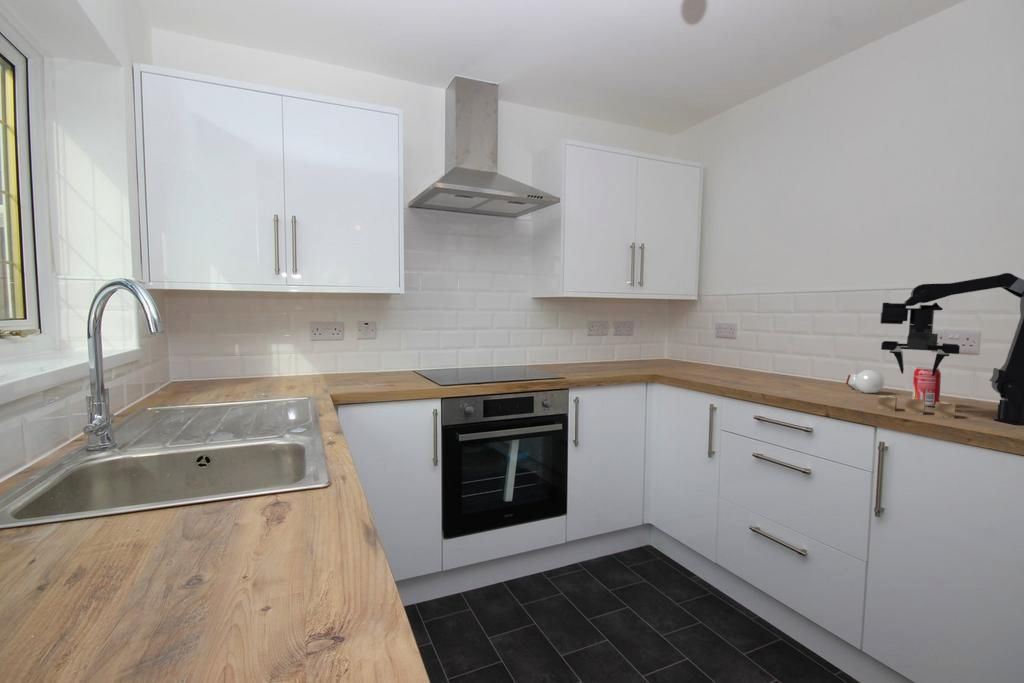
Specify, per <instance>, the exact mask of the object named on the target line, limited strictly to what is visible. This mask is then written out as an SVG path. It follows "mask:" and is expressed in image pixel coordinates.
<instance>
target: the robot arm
mask: <svg viewBox="0 0 1024 683" xmlns="http://www.w3.org/2000/svg"><path fill="white" fill-rule="evenodd" d="M999 288H1001V289H1003V290H1005V291H1006V292H1008V293H1009V294H1011V295H1013V296H1015V297H1017V298H1020V301H1019V302H1020V303H1019V313H1020V318H1019V320H1018V323H1017V326H1016V329H1015V332H1014V336H1013V339H1012V342H1011V344H1010V347H1009V350H1008V353H1007V356H1006V360H1005V361H1004V364H1003V365H1002V367H1000V368H996V367H993V371H992V376H991V378H990V379H989V382H991V388H992V389H993V390H994V391H995V393H998V394H999V397H1000V398H1001V399H999V404H997V415H996V418H992V420H993V421H995V422H996V421H997V422H1003V423H1005V424H1006V423H1007V424H1010V425H1016V426H1017V425H1019V426H1020V425H1022V426H1024V279H1023V278H1021V277H1018V276H1016V275H1014V274H1013V273H1009V272H1004V273H1001V274H997V275H993V276H992V275H991V276H985V277H980V278H979V277H978V278H974V279H968V280H962V281H954V282H949V283H922V284H919V285H917V286H914V287H913V289H912V290H911V291H910V292H911V293H910V297H909V298H908V299H907V300H904V302H903V303H899V302H898V303H897V302H896V303H895V302H893V303H891V302H883V303H882V304H881V305H882V307H881V308H882V309H881V312H880V320H879V321H880V324H881V325H903V324H904V322H908V318H909V326H908V335H907V338H906V339H907V340H906V343H902V342H901V343H899V341H897V340H884V341H882V342H881V348H880V350H881V351H882V350H884V351H889V353H890V354H893V355H894V357H895V359H896V360H897V364H898V367H899V370H900V372H901V373H900V374H904V372H905V371H904V369H905V366H904V353H903V350H912V351H916V350H917V351H932V352H936V355H935V359H934V362H933V367H932V368H933V370H932V376H934V374H935V372H936V370H937V368H939V366H940V364H941V363H942V361H943V360H944V358H945V357H950V355H951V354H953V355H954V354H955V355H959V354H960V345H959V344H957V343H944V342H943V343H942V345H940V344H939V345H938V336H939V333H933V330H934V328H933V327H934V318H935V317H934V315H935V311H943V309H944V308H942V307H941V306H940V305H939V304H938V302H934V301H936V300H940V299H943V298H946V297H950V296H955V295H960V294H961V295H962V294H965V293H967V294H968V293H972V292H979V291H980V292H981V291H985V290H992V289H999ZM930 302H934V303H933V304H926V303H930ZM918 304H920V305H919V307H918V308H916V307H915V308H914V307H913V306H915V305H918ZM908 307H909V308H908ZM912 307H913V308H912ZM909 311H910V312H909ZM909 313H910V314H909Z"/></svg>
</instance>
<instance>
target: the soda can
mask: <svg viewBox="0 0 1024 683" xmlns="http://www.w3.org/2000/svg"><path fill="white" fill-rule="evenodd" d="M932 370H933V367H929V366H928V367H927V366H916V367H915V369H914V372H913V383H912V398H911V399H915V400H924V401H925V406H935V403H936V402H940V400H941V399H940V396H941V395H940V394H941V381H942V380H941V378H942V374H941V371H940V368H939V367H938V368H937V370H936V372H935V374H934V376H932Z"/></svg>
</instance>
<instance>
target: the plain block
mask: <svg viewBox="0 0 1024 683" xmlns="http://www.w3.org/2000/svg"><path fill="white" fill-rule="evenodd" d="M904 408H905V410H904V412H905V411H908V412H916V413H924V414H925V411H926V410H925V409H926V407H925V401H924V400H915V399H912V398H906V400H905V407H904Z"/></svg>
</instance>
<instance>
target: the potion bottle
mask: <svg viewBox="0 0 1024 683" xmlns="http://www.w3.org/2000/svg"><path fill="white" fill-rule="evenodd" d="M845 384H846V386H848V387H850V388H851V389H853V390H855V391H860V392H862V393H864V394H872V393H874V394H877V393H878V392H881V391H882V389H883V388H884V386H885V378H884V377H883V375H882V374H881V373H880V372H878V371H876V370H874V369H864V370H860V371H859V372H858V373H850V374H848V376H847V379H846V381H845Z"/></svg>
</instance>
